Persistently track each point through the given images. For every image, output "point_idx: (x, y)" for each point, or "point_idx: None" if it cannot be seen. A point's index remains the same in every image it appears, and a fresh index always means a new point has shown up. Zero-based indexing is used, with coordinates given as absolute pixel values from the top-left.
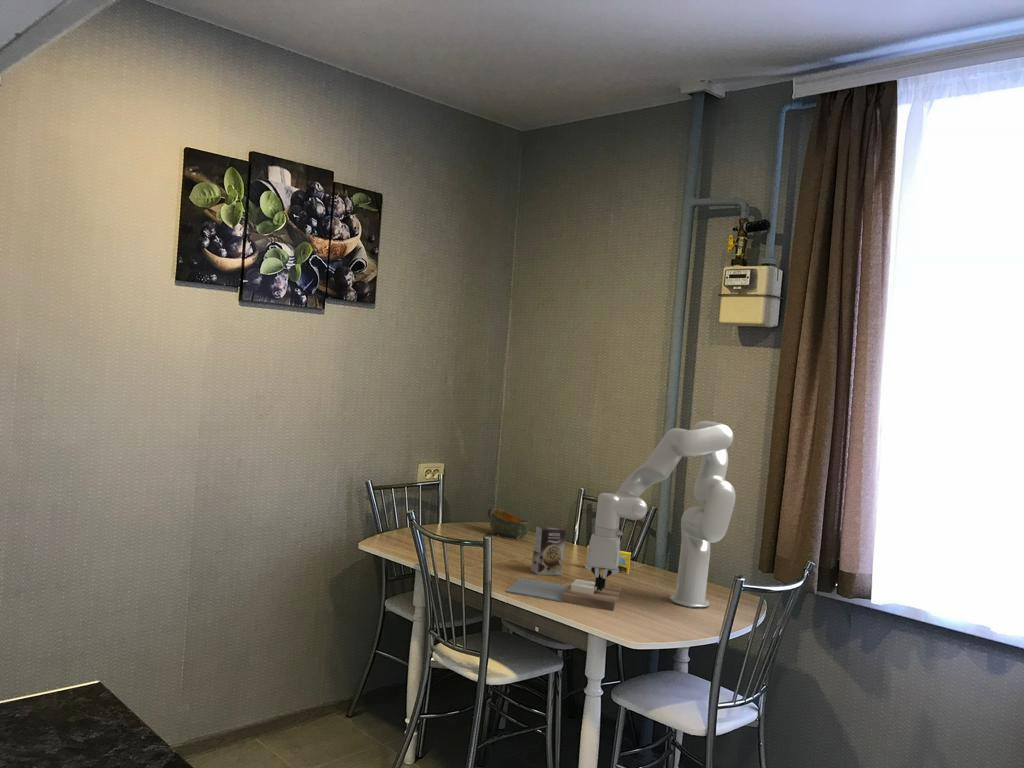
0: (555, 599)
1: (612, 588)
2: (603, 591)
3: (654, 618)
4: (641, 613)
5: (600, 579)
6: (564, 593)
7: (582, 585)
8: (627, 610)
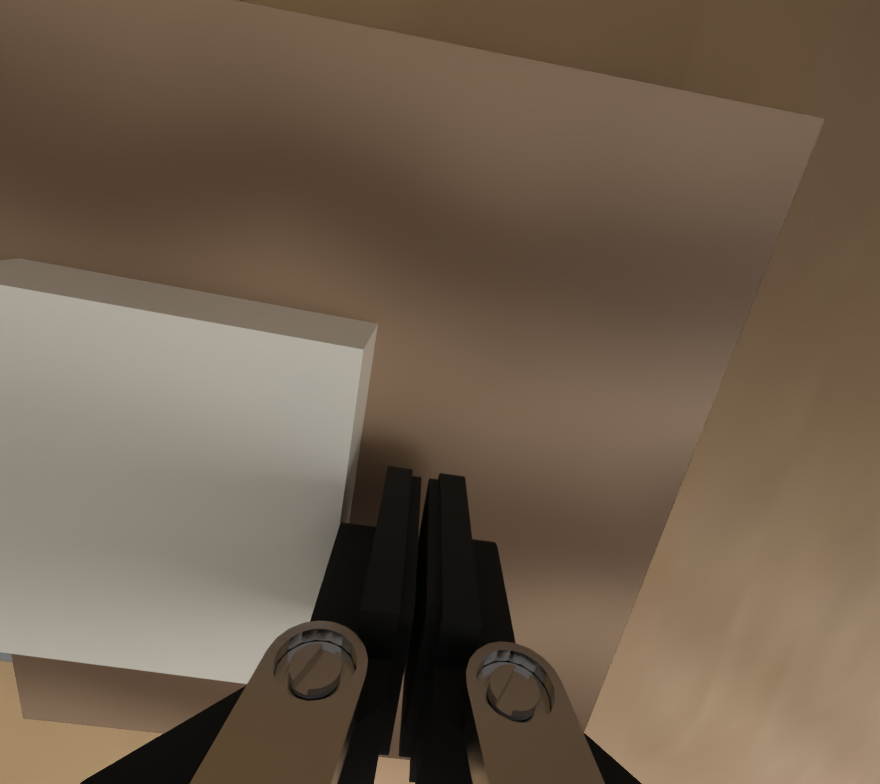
0: (9, 660)
1: (659, 158)
2: (480, 427)
3: (871, 743)
4: (799, 672)
5: (400, 747)
6: (33, 706)
7: (149, 635)
8: (685, 644)
